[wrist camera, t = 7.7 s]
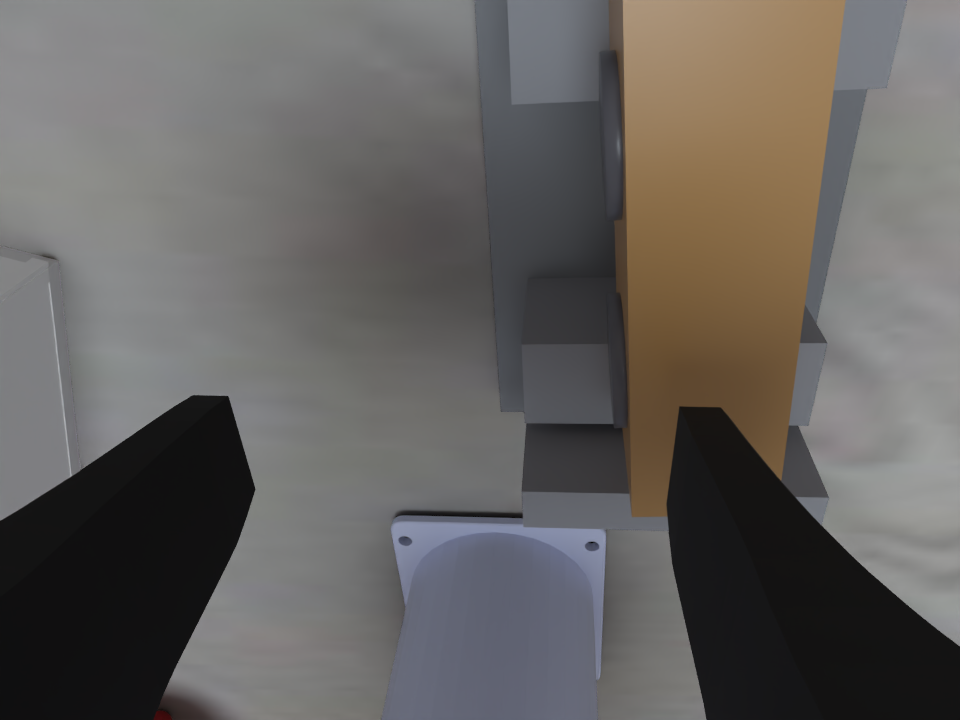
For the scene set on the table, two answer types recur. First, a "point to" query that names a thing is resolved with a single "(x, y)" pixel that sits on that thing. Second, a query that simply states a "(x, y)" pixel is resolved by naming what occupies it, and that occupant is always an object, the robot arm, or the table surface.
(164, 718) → the strawberry
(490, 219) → the display stand
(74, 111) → the table surface
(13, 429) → the butter dish
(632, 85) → the orange-brown rectangular block
